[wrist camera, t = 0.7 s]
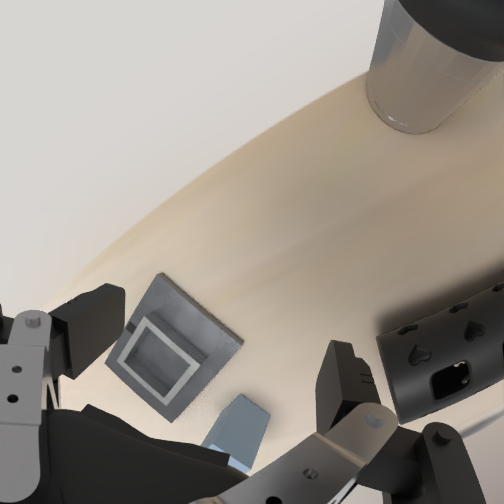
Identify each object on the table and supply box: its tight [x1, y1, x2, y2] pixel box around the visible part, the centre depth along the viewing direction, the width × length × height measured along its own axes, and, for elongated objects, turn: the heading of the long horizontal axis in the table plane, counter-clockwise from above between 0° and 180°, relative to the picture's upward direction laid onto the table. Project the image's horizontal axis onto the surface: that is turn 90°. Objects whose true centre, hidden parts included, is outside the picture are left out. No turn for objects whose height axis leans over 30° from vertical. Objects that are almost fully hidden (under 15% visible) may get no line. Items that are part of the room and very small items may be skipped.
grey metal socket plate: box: [105, 273, 244, 423], centre depth 35 cm, size 16×12×3 cm
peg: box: [201, 394, 270, 473], centre depth 30 cm, size 4×4×10 cm
